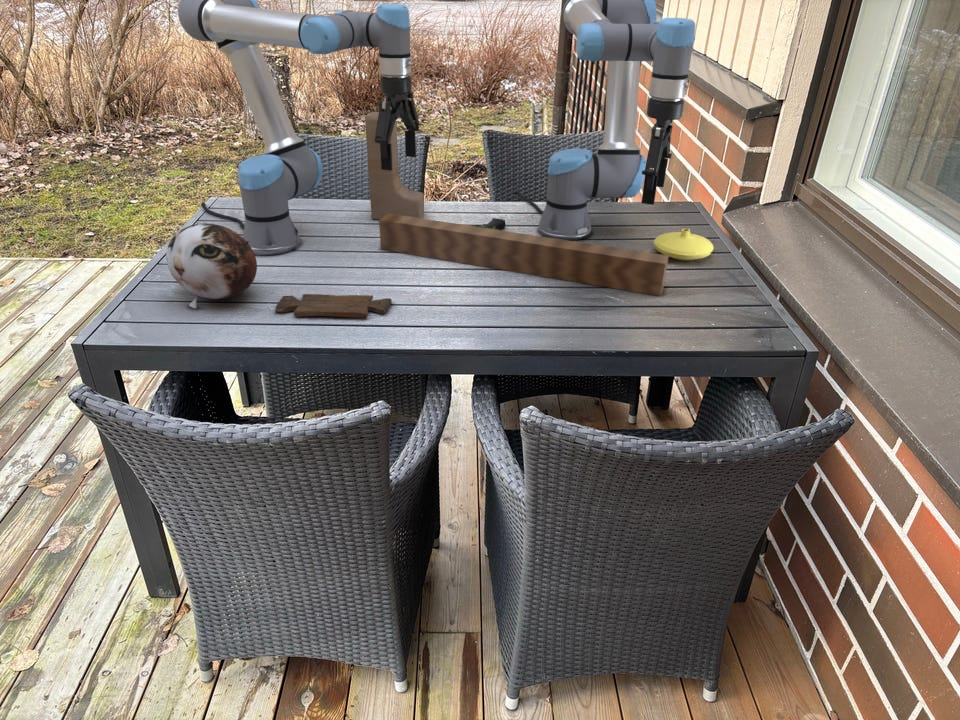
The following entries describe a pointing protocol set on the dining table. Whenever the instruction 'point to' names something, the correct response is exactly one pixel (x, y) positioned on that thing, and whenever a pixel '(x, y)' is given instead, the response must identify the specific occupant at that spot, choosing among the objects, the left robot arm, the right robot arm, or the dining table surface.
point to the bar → (526, 253)
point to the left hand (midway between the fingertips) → (399, 163)
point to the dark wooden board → (333, 305)
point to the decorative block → (388, 179)
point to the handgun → (494, 224)
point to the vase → (683, 245)
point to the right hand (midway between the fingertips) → (652, 194)
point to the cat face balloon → (211, 261)
